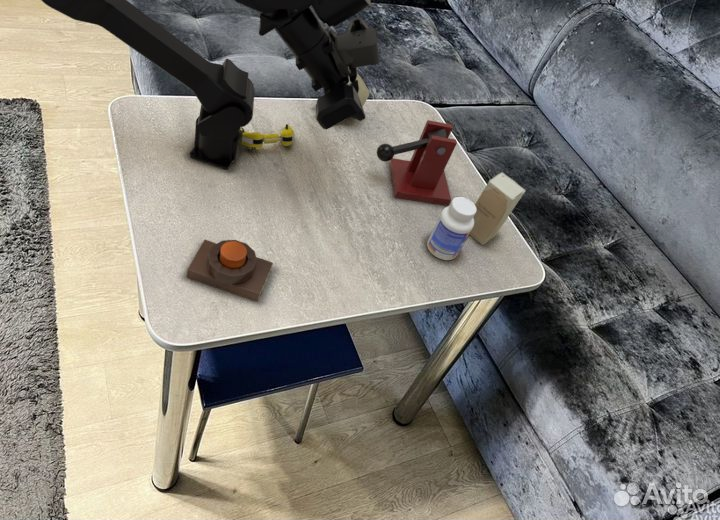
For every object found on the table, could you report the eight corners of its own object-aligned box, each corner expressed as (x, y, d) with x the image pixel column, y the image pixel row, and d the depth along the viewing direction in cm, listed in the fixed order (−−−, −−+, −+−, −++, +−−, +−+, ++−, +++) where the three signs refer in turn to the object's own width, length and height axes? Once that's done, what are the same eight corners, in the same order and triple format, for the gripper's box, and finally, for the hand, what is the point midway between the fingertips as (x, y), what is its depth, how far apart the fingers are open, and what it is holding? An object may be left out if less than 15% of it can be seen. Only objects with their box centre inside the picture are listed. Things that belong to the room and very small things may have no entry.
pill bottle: (458, 264, 94) (483, 222, 87) (427, 257, 93) (449, 214, 86) (455, 239, 98) (479, 197, 91) (425, 233, 97) (446, 190, 90)
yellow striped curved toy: (246, 156, 96) (246, 135, 95) (233, 144, 101) (232, 124, 99) (301, 150, 101) (302, 130, 99) (286, 139, 106) (287, 120, 104)
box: (460, 227, 100) (487, 179, 92) (473, 217, 103) (501, 170, 95) (484, 246, 99) (513, 199, 91) (497, 236, 101) (527, 189, 93)
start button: (215, 263, 78) (216, 255, 76) (224, 246, 80) (226, 237, 79) (240, 272, 78) (241, 263, 76) (248, 254, 80) (250, 246, 79)
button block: (186, 278, 79) (187, 261, 76) (204, 246, 83) (205, 229, 80) (257, 302, 79) (261, 286, 77) (271, 269, 83) (275, 253, 81)
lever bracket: (394, 197, 101) (417, 143, 92) (389, 163, 107) (409, 109, 98) (448, 205, 103) (475, 153, 95) (440, 172, 109) (464, 120, 101)
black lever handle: (379, 167, 99) (375, 153, 97) (377, 155, 101) (374, 142, 99) (449, 150, 98) (447, 136, 96) (446, 139, 100) (443, 125, 98)
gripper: (363, 46, 74) (416, 131, 85) (353, -20, 86) (400, 62, 97) (289, 88, 78) (349, 164, 88) (290, 19, 90) (342, 94, 101)
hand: (362, 118), depth 93 cm, fingers closed
